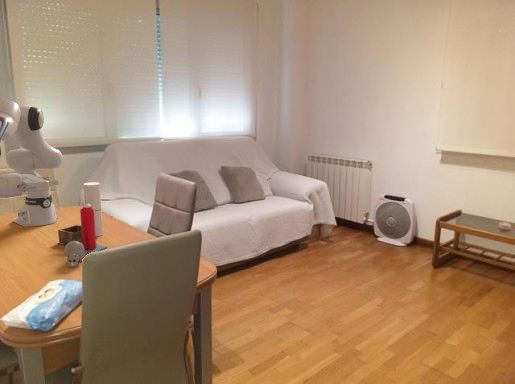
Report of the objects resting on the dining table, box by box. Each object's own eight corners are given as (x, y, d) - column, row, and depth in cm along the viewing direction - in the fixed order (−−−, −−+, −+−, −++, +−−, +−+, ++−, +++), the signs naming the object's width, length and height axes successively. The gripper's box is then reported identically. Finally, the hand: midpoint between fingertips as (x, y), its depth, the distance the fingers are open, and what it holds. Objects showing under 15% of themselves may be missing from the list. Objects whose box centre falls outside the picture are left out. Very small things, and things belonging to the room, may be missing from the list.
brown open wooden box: (59, 242, 182) (58, 230, 181) (78, 236, 191) (77, 224, 190) (74, 246, 178) (73, 233, 177) (92, 240, 187) (92, 227, 185)
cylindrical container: (97, 237, 191) (94, 185, 186) (83, 236, 192) (80, 184, 187) (105, 232, 198) (102, 182, 192) (92, 231, 199) (89, 181, 194)
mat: (72, 250, 173) (72, 249, 173) (91, 244, 182) (91, 242, 182) (88, 255, 169) (88, 253, 168) (107, 248, 177) (107, 246, 177)
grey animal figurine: (63, 274, 155) (59, 258, 151) (68, 253, 165) (64, 237, 160) (83, 273, 157) (79, 257, 152) (87, 252, 166) (84, 236, 162)
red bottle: (98, 245, 178) (95, 201, 174) (94, 250, 172) (91, 204, 168) (85, 246, 177) (82, 201, 173) (81, 250, 172) (77, 204, 168)
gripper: (22, 180, 143) (62, 176, 153) (4, 173, 157) (42, 169, 166) (24, 197, 144) (64, 192, 154) (6, 188, 158) (44, 184, 168)
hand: (52, 180), depth 160 cm, fingers open, 8 cm apart
